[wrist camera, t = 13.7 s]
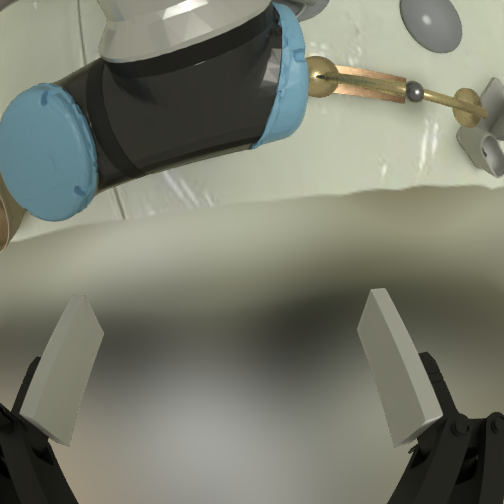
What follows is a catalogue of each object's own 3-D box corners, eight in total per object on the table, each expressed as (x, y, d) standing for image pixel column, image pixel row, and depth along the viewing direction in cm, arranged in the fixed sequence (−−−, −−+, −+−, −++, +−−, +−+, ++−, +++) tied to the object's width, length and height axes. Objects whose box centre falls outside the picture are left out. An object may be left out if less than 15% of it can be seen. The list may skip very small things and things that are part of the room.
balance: (285, 92, 35) (313, 103, 22) (285, 58, 32) (314, 47, 19) (428, 111, 35) (497, 139, 22) (431, 82, 33) (503, 100, 19)
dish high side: (400, 41, 29) (403, 41, 29) (398, -24, 23) (400, -25, 22) (459, 61, 30) (462, 62, 29) (457, 1, 23) (460, 1, 22)
